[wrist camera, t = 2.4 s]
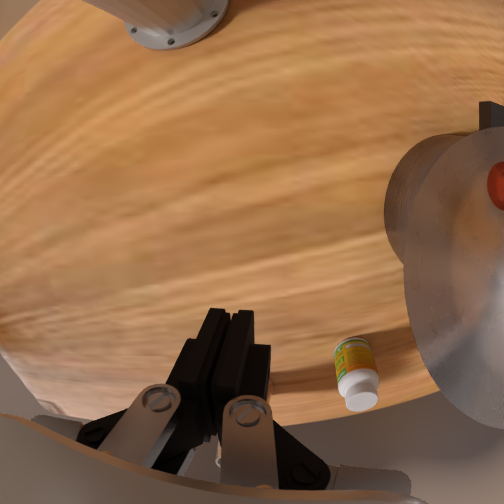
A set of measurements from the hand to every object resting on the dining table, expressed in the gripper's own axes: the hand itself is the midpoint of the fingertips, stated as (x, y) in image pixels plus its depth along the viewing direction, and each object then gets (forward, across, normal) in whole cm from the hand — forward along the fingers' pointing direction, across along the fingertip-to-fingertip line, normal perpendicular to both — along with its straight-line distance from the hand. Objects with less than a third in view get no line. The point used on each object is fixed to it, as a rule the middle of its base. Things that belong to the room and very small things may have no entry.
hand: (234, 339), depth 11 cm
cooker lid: (+4, -16, 0) cm, 16 cm away
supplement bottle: (+23, -12, +20) cm, 33 cm away
